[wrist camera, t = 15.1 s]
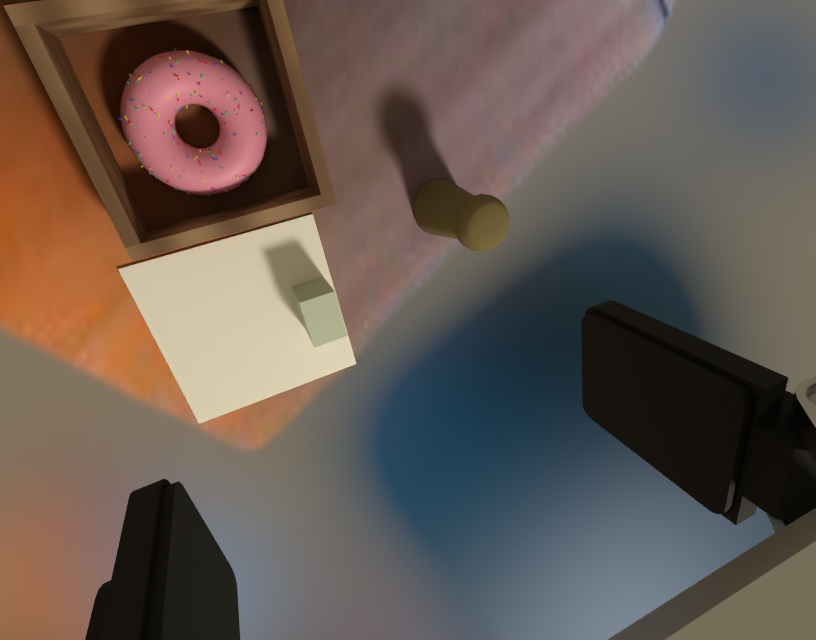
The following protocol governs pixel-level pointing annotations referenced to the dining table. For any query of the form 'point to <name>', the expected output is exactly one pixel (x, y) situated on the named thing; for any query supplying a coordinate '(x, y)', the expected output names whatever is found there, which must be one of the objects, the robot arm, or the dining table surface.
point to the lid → (243, 315)
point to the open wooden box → (39, 30)
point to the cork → (461, 215)
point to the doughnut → (176, 88)
